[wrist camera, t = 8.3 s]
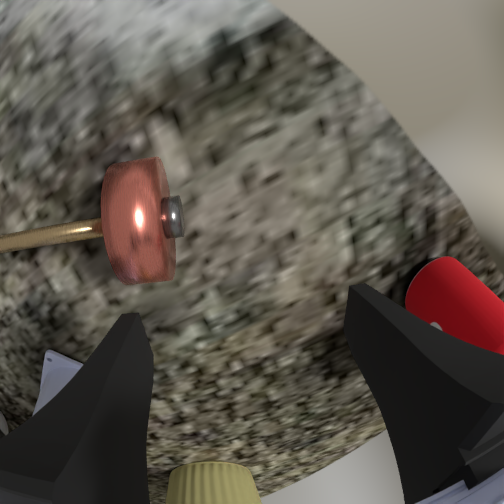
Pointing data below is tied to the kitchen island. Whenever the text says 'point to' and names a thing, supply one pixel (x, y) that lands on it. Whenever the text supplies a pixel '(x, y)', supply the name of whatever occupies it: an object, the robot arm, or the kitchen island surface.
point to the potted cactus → (211, 484)
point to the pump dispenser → (3, 426)
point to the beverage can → (457, 304)
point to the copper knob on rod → (124, 224)
